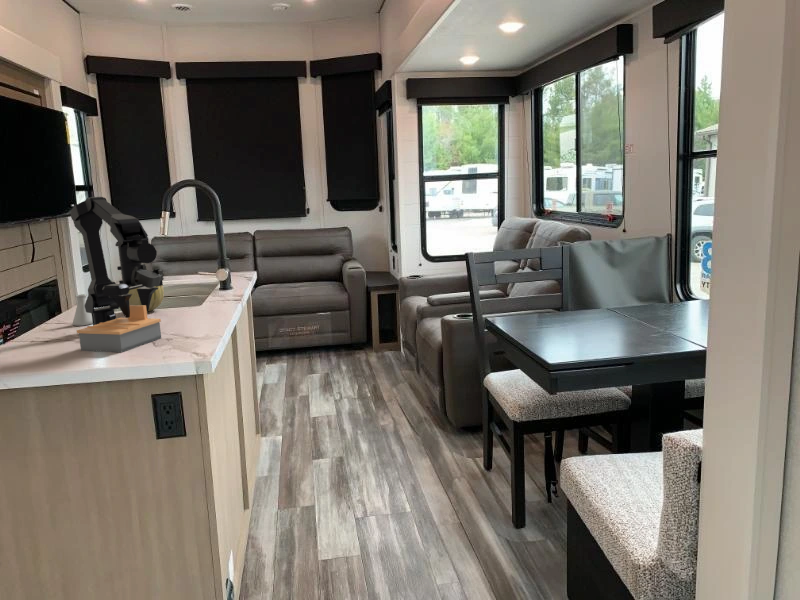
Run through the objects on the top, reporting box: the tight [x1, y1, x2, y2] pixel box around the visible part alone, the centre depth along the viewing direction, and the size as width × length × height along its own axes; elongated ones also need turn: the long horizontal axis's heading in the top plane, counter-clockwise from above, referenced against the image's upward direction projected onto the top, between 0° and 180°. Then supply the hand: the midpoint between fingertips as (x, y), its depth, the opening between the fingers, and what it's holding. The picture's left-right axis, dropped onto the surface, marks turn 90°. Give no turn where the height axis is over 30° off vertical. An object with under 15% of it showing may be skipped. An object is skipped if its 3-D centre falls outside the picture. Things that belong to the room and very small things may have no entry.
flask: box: [71, 293, 93, 327], centre depth 212 cm, size 7×7×10 cm
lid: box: [76, 305, 162, 335], centre depth 179 cm, size 15×17×5 cm
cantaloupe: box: [128, 285, 165, 312], centre depth 229 cm, size 15×15×15 cm
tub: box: [78, 322, 162, 353], centre depth 180 cm, size 14×16×5 cm
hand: (137, 314), depth 186 cm, fingers open, 7 cm apart
